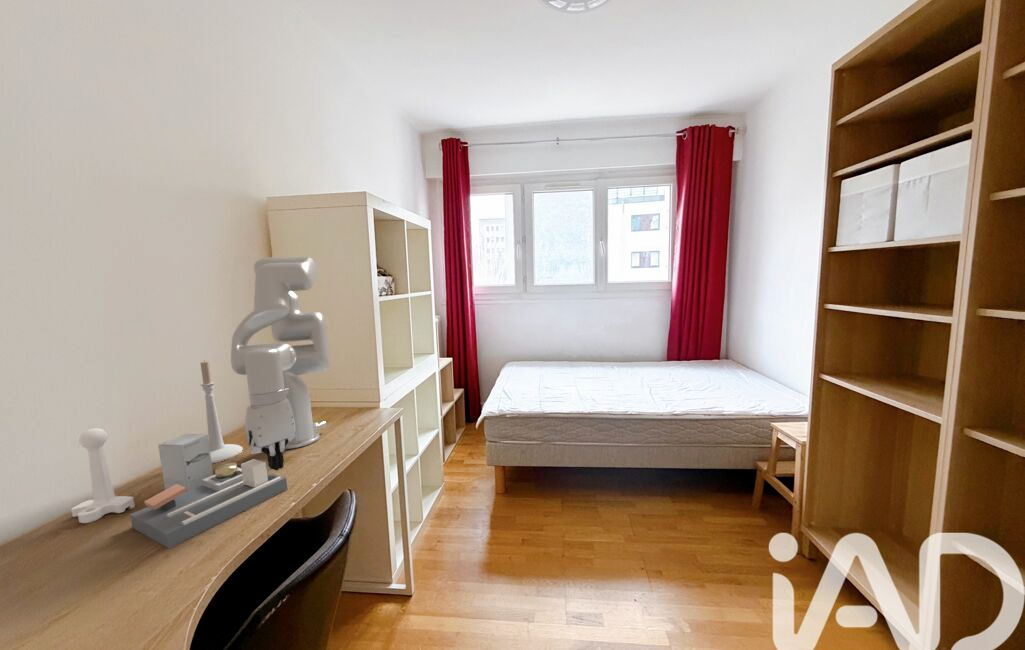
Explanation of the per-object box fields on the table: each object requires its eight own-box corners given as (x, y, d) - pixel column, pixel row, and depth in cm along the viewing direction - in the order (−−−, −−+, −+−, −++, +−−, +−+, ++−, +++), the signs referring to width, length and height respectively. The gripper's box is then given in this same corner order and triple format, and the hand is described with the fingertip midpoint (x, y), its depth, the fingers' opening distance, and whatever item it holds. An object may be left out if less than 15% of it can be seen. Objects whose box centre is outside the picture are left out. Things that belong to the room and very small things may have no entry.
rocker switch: (178, 487, 91) (176, 483, 90) (187, 491, 89) (185, 487, 88) (145, 505, 86) (144, 501, 85) (154, 509, 83) (153, 505, 83)
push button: (231, 468, 101) (230, 461, 100) (241, 472, 98) (240, 464, 98) (212, 476, 97) (211, 469, 96) (221, 480, 95) (220, 472, 94)
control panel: (249, 476, 106) (246, 460, 106) (287, 489, 98) (285, 472, 98) (132, 527, 85) (128, 507, 85) (168, 548, 77) (165, 527, 77)
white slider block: (256, 478, 98) (253, 458, 97) (268, 482, 96) (265, 462, 95) (243, 483, 95) (240, 464, 95) (255, 488, 93) (252, 467, 92)
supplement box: (187, 493, 99) (180, 445, 98) (164, 491, 101) (156, 444, 99) (215, 478, 106) (208, 433, 105) (192, 477, 108) (186, 433, 106)
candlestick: (179, 466, 115) (164, 366, 112) (213, 448, 128) (200, 357, 125) (223, 464, 115) (208, 363, 112) (252, 446, 128) (240, 355, 124)
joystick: (139, 503, 95) (126, 423, 93) (109, 522, 88) (94, 436, 86) (91, 507, 95) (76, 427, 93) (57, 526, 87) (40, 439, 85)
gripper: (287, 388, 106) (295, 454, 108) (226, 405, 93) (236, 479, 95) (305, 390, 103) (313, 458, 105) (244, 408, 90) (254, 485, 92)
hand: (276, 468), depth 100 cm, fingers closed
